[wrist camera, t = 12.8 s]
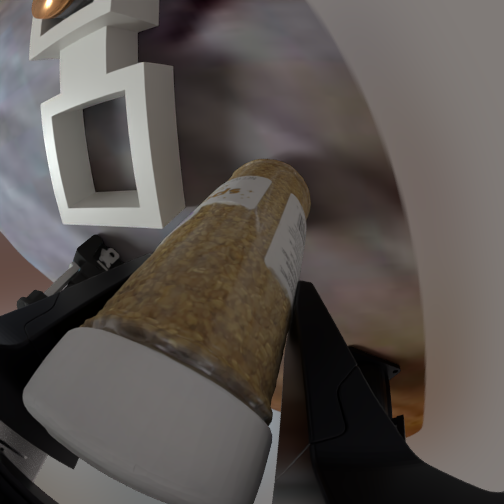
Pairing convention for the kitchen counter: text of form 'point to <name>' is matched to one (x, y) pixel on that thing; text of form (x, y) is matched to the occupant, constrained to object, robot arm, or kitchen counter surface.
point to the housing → (101, 90)
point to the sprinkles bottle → (187, 349)
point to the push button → (79, 269)
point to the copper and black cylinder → (57, 8)
